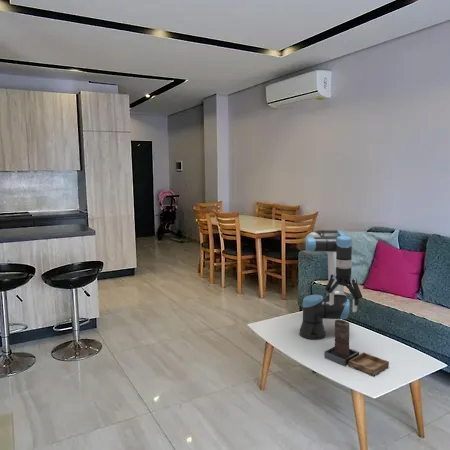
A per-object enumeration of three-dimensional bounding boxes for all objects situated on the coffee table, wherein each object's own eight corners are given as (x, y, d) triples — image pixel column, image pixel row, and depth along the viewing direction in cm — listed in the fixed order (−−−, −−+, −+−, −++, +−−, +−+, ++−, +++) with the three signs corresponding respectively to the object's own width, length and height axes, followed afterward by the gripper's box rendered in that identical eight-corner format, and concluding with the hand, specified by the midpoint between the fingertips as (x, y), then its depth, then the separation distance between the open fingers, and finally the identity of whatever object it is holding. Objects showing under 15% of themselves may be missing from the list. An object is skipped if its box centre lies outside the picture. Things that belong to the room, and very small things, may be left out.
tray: (348, 366, 198) (348, 360, 198) (363, 357, 207) (363, 352, 206) (373, 376, 188) (374, 370, 187) (388, 367, 196) (388, 361, 196)
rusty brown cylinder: (332, 355, 210) (332, 318, 208) (345, 354, 211) (346, 318, 208) (337, 362, 203) (338, 324, 200) (351, 361, 203) (352, 323, 201)
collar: (324, 357, 208) (324, 351, 207) (338, 350, 215) (338, 344, 215) (345, 366, 198) (345, 359, 198) (359, 358, 206) (359, 352, 205)
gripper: (318, 264, 207) (318, 303, 210) (361, 272, 188) (360, 316, 191) (327, 262, 212) (326, 300, 215) (370, 270, 193) (369, 312, 196)
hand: (342, 308), depth 203 cm, fingers open, 13 cm apart
